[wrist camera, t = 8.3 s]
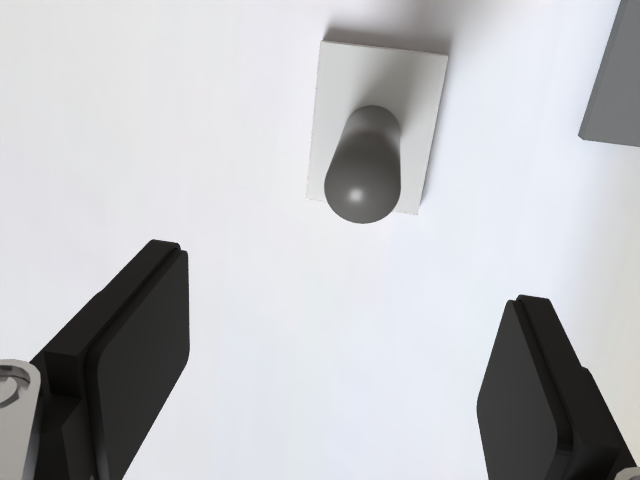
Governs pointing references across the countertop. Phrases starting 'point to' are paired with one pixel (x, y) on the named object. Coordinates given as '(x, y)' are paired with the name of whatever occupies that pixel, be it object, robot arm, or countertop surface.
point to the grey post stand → (373, 128)
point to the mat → (617, 84)
